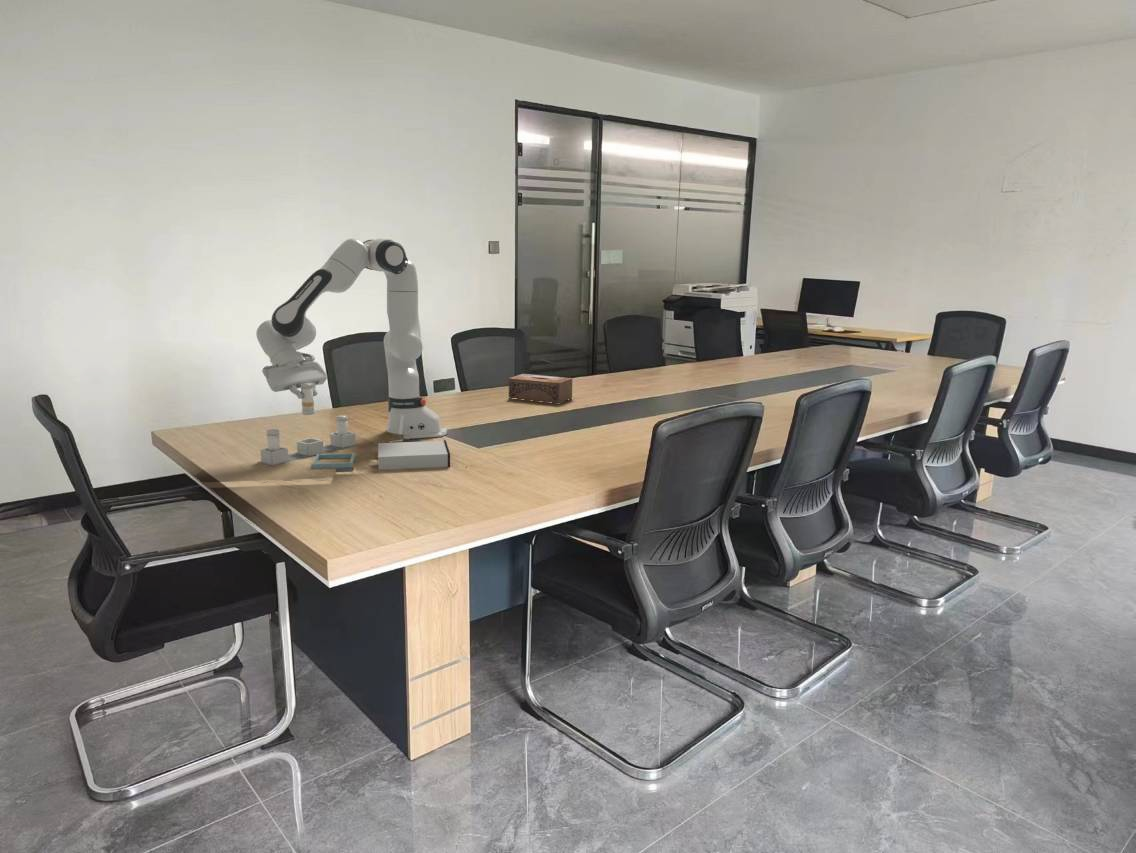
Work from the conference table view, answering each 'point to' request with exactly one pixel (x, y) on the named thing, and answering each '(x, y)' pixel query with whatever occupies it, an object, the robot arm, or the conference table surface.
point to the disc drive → (413, 455)
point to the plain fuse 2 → (342, 425)
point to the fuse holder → (307, 449)
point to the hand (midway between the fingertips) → (308, 396)
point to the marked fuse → (307, 399)
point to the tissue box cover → (540, 388)
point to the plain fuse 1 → (273, 440)
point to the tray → (335, 465)
